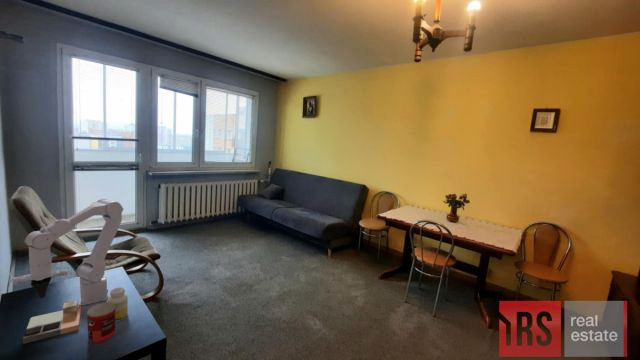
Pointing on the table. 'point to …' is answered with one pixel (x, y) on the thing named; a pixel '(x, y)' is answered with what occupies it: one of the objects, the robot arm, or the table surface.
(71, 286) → the table surface
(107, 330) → the canned food
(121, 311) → the pill bottle
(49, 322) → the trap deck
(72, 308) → the birch block
